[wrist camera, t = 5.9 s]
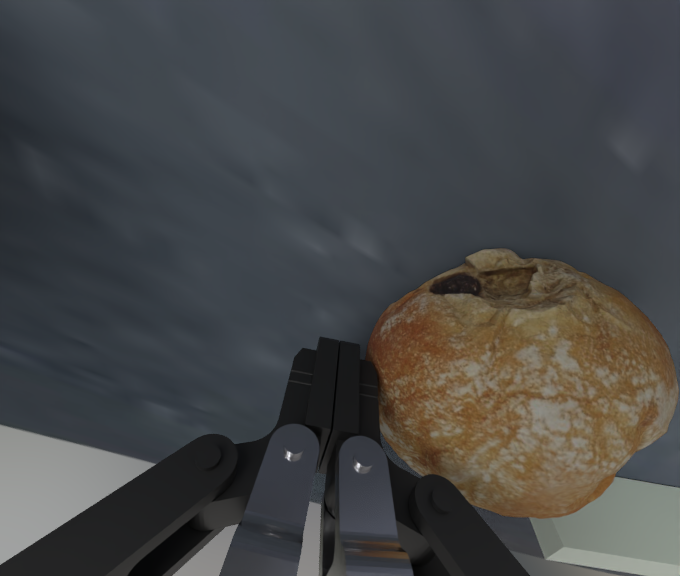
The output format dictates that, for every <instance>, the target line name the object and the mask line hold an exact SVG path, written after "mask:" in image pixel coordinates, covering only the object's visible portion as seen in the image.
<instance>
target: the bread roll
mask: <svg viewBox="0 0 680 576" xmlns="http://www.w3.org/2000/svg"><path fill="white" fill-rule="evenodd" d="M465 262H466V263H464V264H462V265H461V266H459V267H457V268H454V269H451V270H449V271H446V272H444V273H442V274H440V275H438V276H436V277H434V278H432V279H431V280H429V281H427V282H425V283H424V284H423V285H421V286H420V287H419V288H417V289H416V290H413V291H411V292H409V293H408V294H406V295H405V296H404V297H402V298H401V299H399V300H398V301H397V302H395V303H392V304H391V305H390V306H389V307H388V308H387V309H386V310H385V311H384V312H383V313H382V315H381V316H380V318H379V320H378V321H377V323H376V325H375V327H374V329H373V332H372V334H371V337H370V340H369V342H368V346H367V352H366V358H365V360H366V361H371V362H372V364H373V366H374V368H375V370H376V372H377V381H378V387H377V388H378V401H379V422H380V431H381V433H382V434H383V436H384V438H385V440H386V441H387V442H388V443H389V445H390V446H391V447H392V449H393V450H394V451H395V452H396V453H397V454H398V456H399V457H400V458H401V459H403V460H404V461H405V462H406V463H407V464H408V465H409V466H410V467H411V468H412V469H413V470H414V471H416V472H417V473H419V474H420V475H422V476H425V475H428V474H435V475H439V476H442V477H444V478H446V479H447V480H449V481H450V482H451V483H453V484H454V485H455V487H456V488H457V489H458V490H459V491H460V492H461V494H462V495H463V496H464V497H465V498H466V500H467V501H468V502H469V503H470V504H472V505H474V506H477V507H480V508H483V509H487V510H490V511H493V512H495V513H497V514H500V515H502V516H510V517H534V518H538V519H545V518H558V517H563V516H567V515H570V514H573V513H575V512H577V511H578V510H580V509H581V508H583V507H584V506H585V505H587V504H588V503H590V502H592V501H594V500H596V499H597V498H598V497H600V496H601V495H602V494H603V493H604V492H605V490H606V489H607V488H608V487H609V486H610V485H611V484H612V482H613V481H614V478H615V475H616V472H617V471H618V470H620V469H621V468H622V467H623V466H624V465H625V464H626V463H627V461H628V460H629V459H630V458H631V457H632V455H633V454H634V453H635V452H637V451H639V450H641V449H643V448H645V447H647V446H648V445H650V444H652V443H653V442H655V441H656V440H657V439H659V438H660V437H661V436H662V435H664V434H665V433H666V432H667V430H668V426H669V423H670V421H671V419H672V417H673V415H674V411H675V408H676V405H677V402H678V394H679V388H678V382H677V377H676V371H675V367H674V363H673V360H672V358H671V354H670V351H669V348H668V346H667V344H666V342H665V340H664V339H663V337H662V335H661V334H660V333H659V331H658V330H657V329H656V327H655V326H654V325H653V324H652V322H651V321H650V320H649V319H648V317H647V316H646V315H645V314H644V313H643V312H642V311H641V310H640V309H638V308H637V307H636V306H635V305H634V304H633V303H632V302H631V301H630V300H629V299H628V298H626V297H625V296H624V295H623V294H621V293H620V292H619V291H617V290H615V289H613V288H611V287H609V286H607V285H605V284H603V283H601V282H599V281H598V280H596V279H594V278H592V277H591V276H589V275H588V274H586V273H583V272H579V271H577V270H576V269H575V268H573V267H572V266H570V265H568V264H566V263H564V262H562V261H558V260H550V259H537V258H529V259H521V258H520V257H519V256H518V255H517V254H516V253H515V252H513V251H512V250H509V249H506V248H497V249H483V250H481V251H479V252H477V253H474V254H472V255H470V256H467V257H465Z"/></svg>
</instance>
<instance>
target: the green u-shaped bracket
mask: <svg viewBox="0 0 680 576" xmlns="http://www.w3.org/2000/svg"><path fill="white" fill-rule="evenodd" d="M529 518H530V521H531V523H532V526H533V529H534V531H535V534H536V537H537V539H538V542H539V544H540V547H541V550H542V552H543V555H544V558H545V560H552V561H558V562H564V563H570V564H576V565H583V566H589V567H595V568H601V569H608V570H614V571H620V572H626V573H633V574H639V575H645V576H680V488H677V487H671V486H665V485H660V484H654V483H648V482H643V481H637V480H631V479H626V478H620V477H615V478H614V481H613V482H612V484H611V485H610V486H609V487H608V488H607V489H606V490H605V492H604V493H603V494H602V495H601V496H600V497H598V498H597V499H596V500H594V501H592V502H590V503H588V504H587V505H585V506H584V507H583V508H581V509H580V510H578V511H577V512H575V513H573V514H570V515H567V516H563V517H558V518H545V519H538V518H534V517H529Z"/></svg>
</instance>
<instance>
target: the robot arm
mask: <svg viewBox="0 0 680 576" xmlns="http://www.w3.org/2000/svg"><path fill="white" fill-rule="evenodd" d="M377 387H378V381H377V372H376V370H375V368H374V366H373V364H372V362H371V361H366V360H361V359H360V345H359V344H354V343H349V342H345V341H340V342H339V340H334V339H329V338H324V337H320V338H319V342H318V346H317V350H311V349H306V348H302V349H301V350H300V352H299V353H298V354H297V355H296V356H295V357H294V361H293V365H292V369H291V373H290V377H289V381H288V385H287V388H286V392H285V396H284V400H283V404H282V408H281V412H280V416H279V420H278V423H277V425H276V426H275V428H274V429H273V431H271V432H270V433H269V434H268V435H267V436H265V437H264V438H262V439H259V440H257V441H252V442H246V443H240V444H234V443H233V442H232V441H231V440H230V439H229V438H227V437H225V436H223V435H219V434H208V435H204V436H201V437H199V438H197V439H195V440H193V441H192V442H190V443H189V444H187V445H186V446H184V447H182V448H181V449H179V450H178V451H176V452H175V453H173V454H172V455H170V456H169V457H167V458H165V459H164V460H162V461H161V462H159V463H158V464H156V465H155V466H153V467H151V468H150V469H148V470H147V471H145V472H144V473H142V474H141V475H139V476H138V477H136V478H134V479H133V480H132V481H130V482H128V483H127V484H125V485H124V486H122V487H120V488H119V489H117V490H116V491H114V492H113V493H112V494H110V495H108V496H106V497H105V498H103V499H102V500H100V501H99V502H97V503H96V504H94V505H93V506H91V507H89V508H88V509H86V510H85V511H83V512H82V513H80V514H79V515H77V516H76V517H74V518H72V519H71V520H69V521H68V522H66V523H65V524H63V525H62V526H60V527H58V528H57V529H55V530H54V531H52V532H51V533H49V534H48V535H46V536H45V537H43V538H41V539H40V540H38V541H37V542H35V543H34V544H33V545H31V546H29V547H27V548H26V549H24V550H23V551H21V552H20V553H18V554H17V555H15V556H13V557H12V558H10V559H9V560H7V561H6V562H4V563H3V564H1V565H0V576H172V575H173V574H174V573H175V572H177V571H178V570H179V569H180V568H181V567H182V566H183V565H184V564H185V563H186V562H187V561H189V560H190V559H191V558H192V557H193V556H194V555H195V554H196V553H197V552H199V551H200V550H201V549H202V548H203V547H204V546H205V545H206V544H207V543H208V542H209V541H211V540H212V539H213V538H214V537H215V536H216V535H217V534H218V533H219V532H221V531H222V530H223V529H224V528H225V527H227V526H231V525H235V524H239V525H238V527H237V529H236V531H235V534H234V536H233V539H232V542H231V544H230V547H229V550H228V553H227V555H226V558H225V561H224V564H223V567H222V569H221V572H220V575H219V576H297V571H298V565H299V560H300V555H301V549H302V542H303V531H304V526H305V521H306V516H307V511H308V506H309V501H310V496H311V491H312V486H313V481H314V476H315V473H317V470H318V467H319V473H322V474H326V483H325V491H324V493H323V496H322V500H321V524H320V555H319V576H530V575H529V574H528V573H527V572H526V570H525V569H524V568H523V567H522V566H521V564H520V563H519V562H518V561H517V560H516V559H515V557H514V556H513V555H512V554H511V552H510V551H509V550H508V549H507V548H506V546H505V545H504V544H503V543H502V542H501V540H500V539H499V538H498V537H497V536H496V534H495V533H494V532H493V531H492V530H491V528H490V527H489V526H488V525H487V524H486V522H485V521H484V520H483V519H482V518H481V516H480V515H479V514H478V513H477V512H476V510H475V509H474V508H473V507H472V506H471V504H470V503H469V502H468V501H467V500H466V498H465V497H464V496H463V495H462V494H461V492H460V491H459V490H458V489H457V488H456V487H455V485H454V484H453V483H451V482H450V481H449V480H447V479H446V478H444V477H442V476H439V475H435V474H428V475H425V476H423V477H422V478H421V479H420V478H418V477H416V476H414V475H412V474H410V473H409V472H407V471H405V470H403V469H401V468H400V467H398V466H397V465H395V464H394V463H393V462H392V461H391V460H390V459H389V458H388V456H387V455H386V453H385V452H384V450H383V447H382V444H381V440H380V422H379V401H378V388H377Z"/></svg>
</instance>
